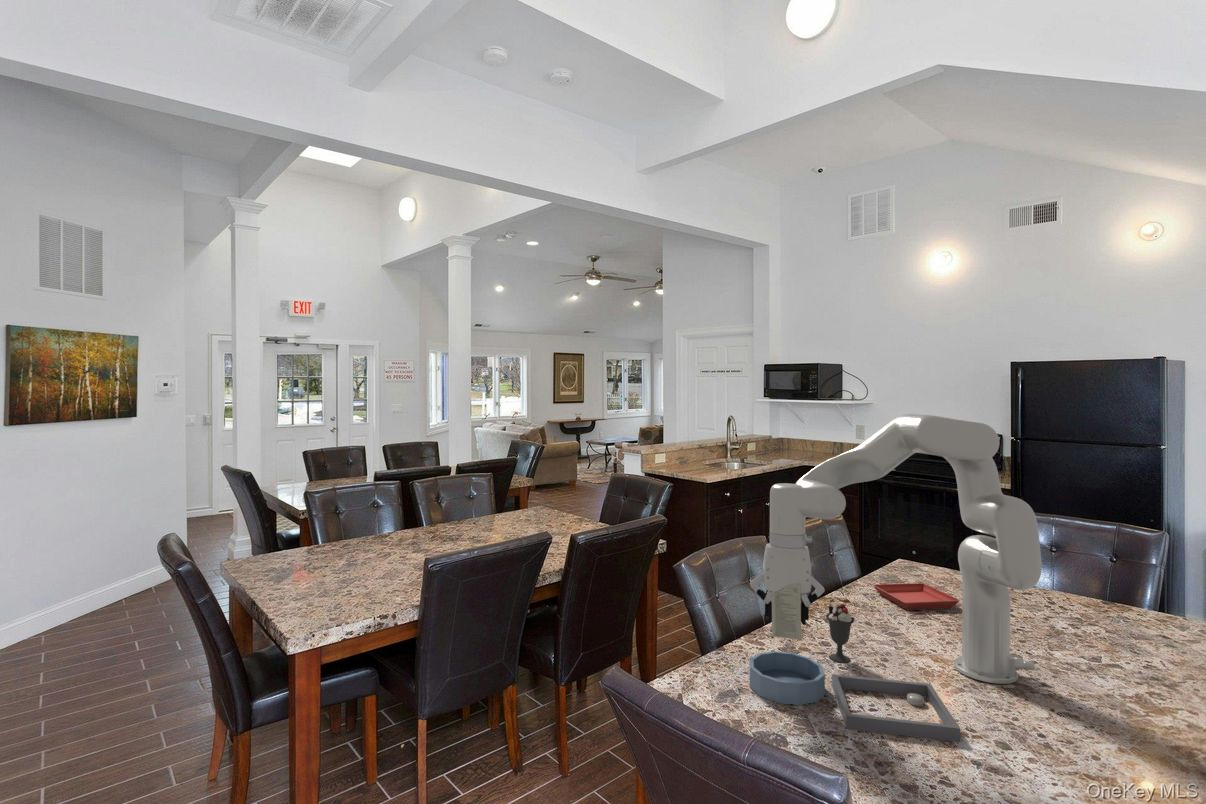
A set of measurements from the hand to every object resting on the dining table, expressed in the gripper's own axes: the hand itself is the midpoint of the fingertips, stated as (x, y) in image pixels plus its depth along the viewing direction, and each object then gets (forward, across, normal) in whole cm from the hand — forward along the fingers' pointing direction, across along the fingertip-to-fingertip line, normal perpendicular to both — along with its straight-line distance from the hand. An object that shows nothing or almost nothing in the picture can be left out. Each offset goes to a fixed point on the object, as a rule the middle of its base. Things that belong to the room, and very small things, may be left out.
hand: (786, 620), depth 134 cm
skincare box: (+3, 0, 0) cm, 3 cm away
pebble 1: (+15, -14, +12) cm, 23 cm away
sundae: (+15, -14, -18) cm, 27 cm away
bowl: (+15, 0, 0) cm, 15 cm away
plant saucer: (+15, -44, -68) cm, 82 cm away
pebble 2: (+15, -26, +1) cm, 30 cm away
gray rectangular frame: (+15, -20, +6) cm, 26 cm away
